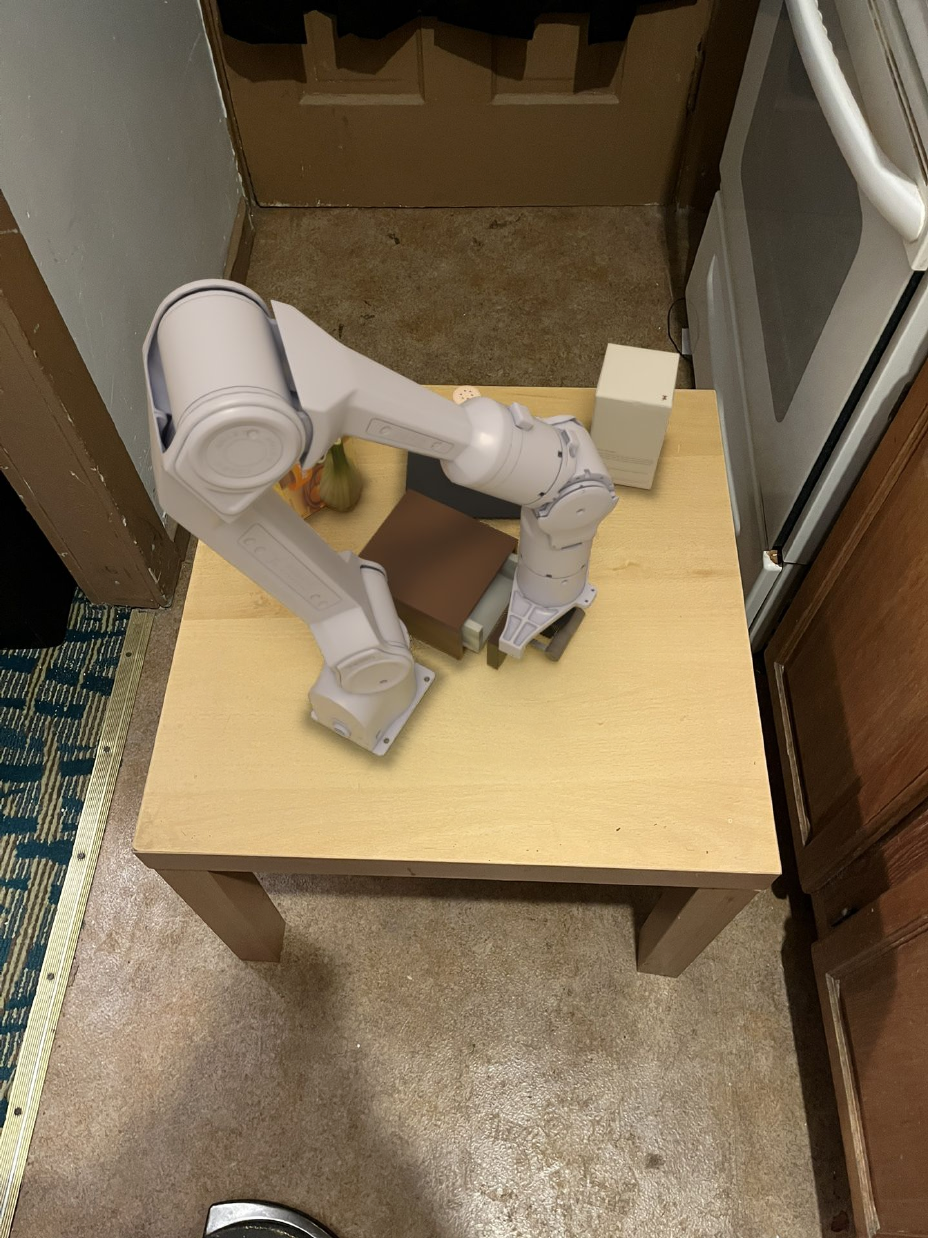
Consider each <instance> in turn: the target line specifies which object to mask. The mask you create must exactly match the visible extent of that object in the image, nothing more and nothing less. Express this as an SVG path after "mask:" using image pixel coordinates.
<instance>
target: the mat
mask: <svg viewBox="0 0 928 1238" xmlns="http://www.w3.org/2000/svg"><path fill="white" fill-rule="evenodd" d="M408 489H411V490H413V491H415V492H418V493H420V494H422V495H424V496H426V497H428V498H431V499H433V500H435V501H437V502H439V503H441V504H444V505H446V506H448V507H450V508H452V509H454V510H457V511H459V512H461V513H463V514H465V515H467V516H470V517H472V518H474V519H476V520H521V509H522V506H521V505H518V504H515V503H512V502H509V501H506V500H503V499H500V498H497V497H494V496H491V495H488V494H485V493H482V492H479V491H476V490H473V489H470V488H467V487H464V486H461V485H458V484H455V483H453V482H451V480H450V479H449V478H448V477H447V476H446V475H445V473H444V471H443V469H442V466H441V463H440V459H437V458H433V457H429V456H425V455H421V454H418V453H414V452H410V451H407V462H406V477H405V491H404V492H405V493H406V491H407V490H408ZM405 493H404V494H405Z"/></svg>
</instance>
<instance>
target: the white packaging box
mask: <svg viewBox="0 0 928 1238" xmlns="http://www.w3.org/2000/svg"><path fill="white" fill-rule="evenodd" d="M680 356H681V355H680V353H677V352H670V351H664V350H663V351H662V350H657V349H649V348H643V347H637V346H630V345H623V344H618V343H611V342H608V343H607V347H606V349H605V354H604V358H603V361H602V366H601V370H600V373H599V377H598V381H597V385H596V389H595V393H594V402H593V410H592V418H591V425H590V426H591V427H590V431H589V435H590V437H591V439H592V441H593V443H594V445H595V447H596V449H597V451H598V453H599V455H600V457H601V459H602V461H603V463H604V465H605V467H606V469H607V471H608V473H609V475H610V477H611V479H612V481H613V484H614V485H621V486H627V487H632V488H638V489H643V490H644V489H645V490H649V491H650V490H651V489H652V487H653V482H654V478H655V475H656V470H657V466H658V463H659V460H660V456H661V452H662V448H663V444H664V440H665V438H666V437H665V436H666V433H667V429H668V425H669V421H670V418H671V415H672V410H673V406H674V398H675V392H676V386H677V377H678V370H679V369H678V368H679V361H680Z"/></svg>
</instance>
